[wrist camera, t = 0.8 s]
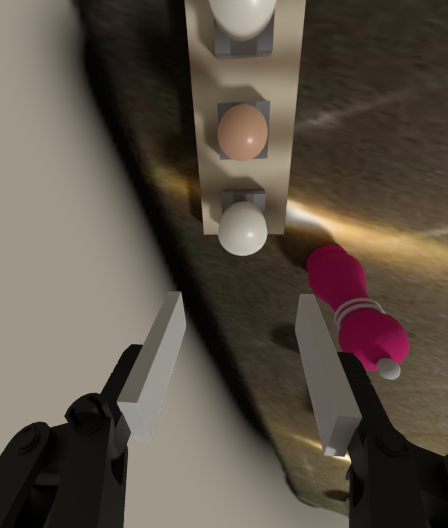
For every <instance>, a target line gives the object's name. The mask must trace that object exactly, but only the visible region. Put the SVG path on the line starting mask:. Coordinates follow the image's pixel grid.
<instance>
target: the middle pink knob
mask: <svg viewBox="0 0 448 528" xmlns="http://www.w3.org/2000/svg"><path fill="white" fill-rule="evenodd" d="M217 135H218V142H219V145H220V147H221V149H222V151H223V152H224V153H225V154H226V155H227V156H228V157H229V158H231V159H233V160H236V161H247V160H250V159H253V158H254V157H256V156H257V155H258V154H259V153H260V152H261V151H262V149H263V148H264V146H265V144H266V141H267V135H268V128H267V123H266V120H265V118H264V116H263V115H262V113H261V112H260V111H259V110H258V109H256V108H255V107H253V106H251V105H246V104H241V105H236V106H234V107H232V108H230V109H229V110H228V111H227V112H226V113H225V114H224V115H223V117H222V118H221V120H220V123H219V126H218V134H217Z"/></svg>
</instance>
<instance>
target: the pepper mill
mask: <svg viewBox="0 0 448 528" xmlns="http://www.w3.org/2000/svg"><path fill="white" fill-rule="evenodd" d="M306 267H307V270H308V273H309V277H308V279H309V284H310V287H311V288H312V290H313V292H314V293H315V294H316V295H317V296H318V297H319V298H320V299H321V300H323V301H324V302H326V303H328V304H329V305H330V306H331V307H332V308H333V310H334V312H335V316H334V321H335V323H336V325H337V328H338V330H339V336H338V338H339V344H340V347H341V349H342V351H343V352H348V353H353V354H354V355H355V356H356V357H357V358H358V359H359V360H360V361H361V362H362V364H363V366H364V369H367V370H372V371H378V373H379V374H380V375H381V376H382V377H384V378H386V379H395V378H397V377H398V376H399V375H400V367H399V365H398V364H399V363H400V362H402V361H403V359H404V358H405V357H406V355H407V353H408V348H409V340H408V336H407V334H406V332H405V330H404V328H403V327H402V326H401V324H400V323H399V322H398V321H397V320H396V319H394V318H393V317H392V316H390V315H387V314H385V312H384V310H383V309H382V308H381V306H380V305H379V304H378V303H377V302H376V301H374V300H371V299H369V297H368V295H367V292H366V276H365V272H364V270H363V268H362V266H361V264H360V263H359V261H358V260H356V259H355V258H354V257H352V256H350V255H348V254H347V252H346V251H345V250H344V249H343V248H341V247H340V246H337V245H324V246H320V247H319V248H317V249H315V250H314V251H313V252H312V253H311V254H310V255H309V257H308V259H307V263H306Z"/></svg>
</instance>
